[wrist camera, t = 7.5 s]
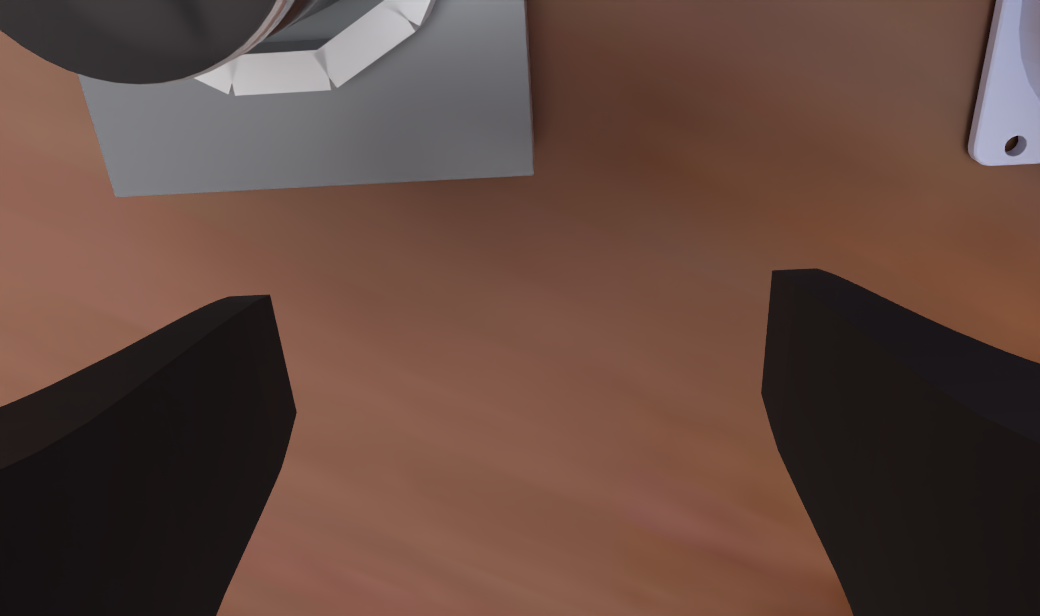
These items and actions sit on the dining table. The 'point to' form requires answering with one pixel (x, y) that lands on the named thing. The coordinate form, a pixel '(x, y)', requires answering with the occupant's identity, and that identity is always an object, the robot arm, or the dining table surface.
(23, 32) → the lens
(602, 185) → the dining table surface
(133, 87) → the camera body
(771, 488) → the dining table surface
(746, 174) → the dining table surface
